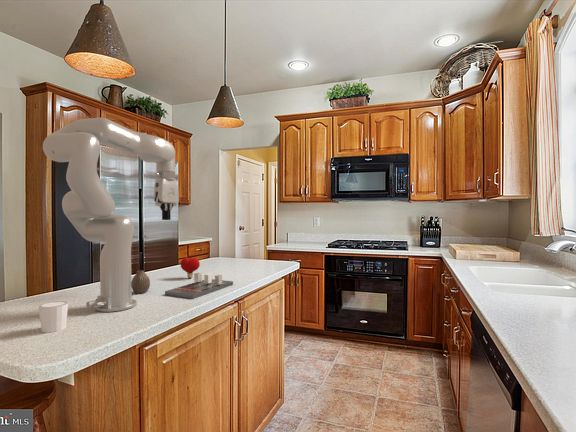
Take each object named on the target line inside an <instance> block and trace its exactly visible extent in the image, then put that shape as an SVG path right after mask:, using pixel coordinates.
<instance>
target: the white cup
mask: <svg viewBox="0 0 576 432" xmlns="http://www.w3.org/2000/svg"><path fill="white" fill-rule="evenodd" d="M68 308H69V302H68V301H63V300H61V301H59V300H58V301H50V302H46V303H45V302H44V303H42V304H40V305H38V312H39V321H40V329H41V332H42V333H46V334H49V333H55V332H59V331H62V330H65V329H66V328H67V319H68V310H69V309H68Z"/></svg>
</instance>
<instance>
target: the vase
mask: <svg viewBox="0 0 576 432" xmlns="http://www.w3.org/2000/svg"><path fill="white" fill-rule="evenodd" d="M131 283H132V291H133V292H134V293H135V294H137V295H138V294H139V295H140V294H142V295H143V294H146V293H147V292H148V291H149V289H150V287H151V281H150V277H149V276H148V275H147V273H146V272H145V271H144V270H142V269H141V270H137V271H136V273H135V275H134V276H133V277H132V278H131Z"/></svg>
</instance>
